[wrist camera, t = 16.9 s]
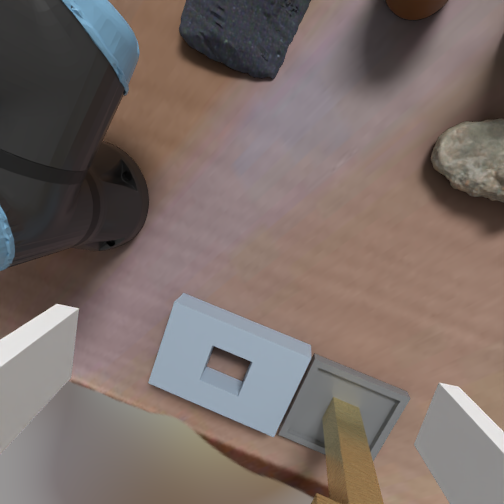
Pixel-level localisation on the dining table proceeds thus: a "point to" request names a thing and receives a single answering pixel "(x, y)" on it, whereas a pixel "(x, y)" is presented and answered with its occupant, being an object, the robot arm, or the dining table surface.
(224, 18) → the dark slate chunk
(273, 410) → the cover plate
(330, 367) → the tray
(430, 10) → the mug
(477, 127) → the long grey stone
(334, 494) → the t key
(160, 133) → the dining table surface
